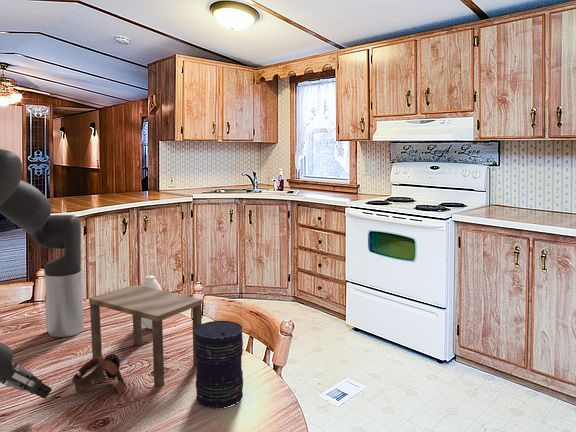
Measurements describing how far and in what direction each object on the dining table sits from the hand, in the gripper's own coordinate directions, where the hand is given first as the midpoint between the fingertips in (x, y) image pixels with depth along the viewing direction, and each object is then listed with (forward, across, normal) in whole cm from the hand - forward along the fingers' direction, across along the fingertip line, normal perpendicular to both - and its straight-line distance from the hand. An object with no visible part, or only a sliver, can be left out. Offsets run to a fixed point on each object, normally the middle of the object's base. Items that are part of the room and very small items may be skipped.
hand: (46, 392), depth 96 cm
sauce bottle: (+33, +17, -27) cm, 46 cm away
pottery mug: (+11, -2, -5) cm, 13 cm away
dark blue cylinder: (+19, -25, -13) cm, 34 cm away
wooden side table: (+21, 0, -15) cm, 26 cm away
